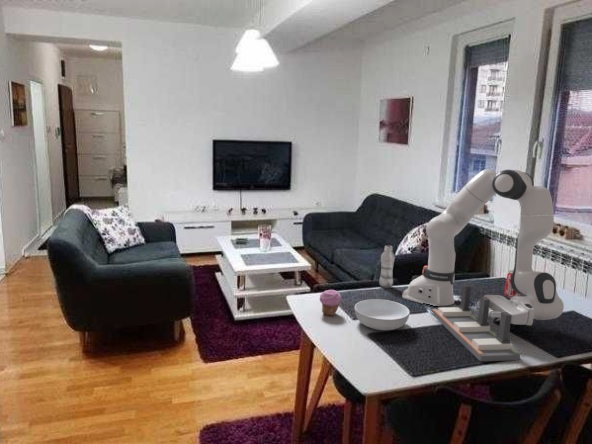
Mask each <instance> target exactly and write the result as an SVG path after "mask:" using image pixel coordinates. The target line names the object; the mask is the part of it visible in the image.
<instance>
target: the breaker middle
mask: <svg viewBox="0 0 592 444" xmlns="http://www.w3.org/2000/svg"><path fill="white" fill-rule="evenodd" d="M479 301H480V307H479V306H478V307H479V309H478V317H477V319H476V322H477V323H479V324H480V325H481V326H485V325H489V326H490V322H488V319H489V311H490V308H489V305H490V299H488V298H487V297H484V296H480V300H479Z"/></svg>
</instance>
